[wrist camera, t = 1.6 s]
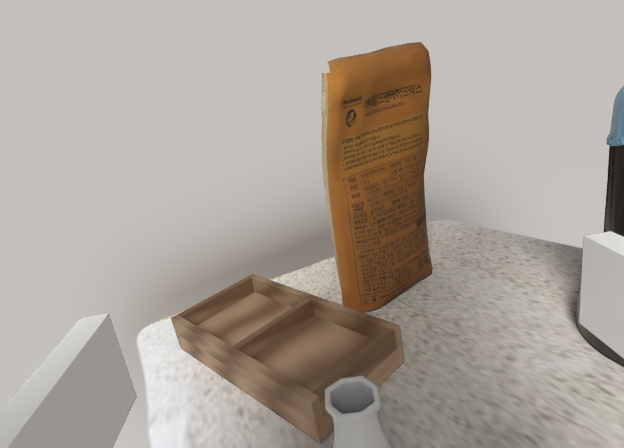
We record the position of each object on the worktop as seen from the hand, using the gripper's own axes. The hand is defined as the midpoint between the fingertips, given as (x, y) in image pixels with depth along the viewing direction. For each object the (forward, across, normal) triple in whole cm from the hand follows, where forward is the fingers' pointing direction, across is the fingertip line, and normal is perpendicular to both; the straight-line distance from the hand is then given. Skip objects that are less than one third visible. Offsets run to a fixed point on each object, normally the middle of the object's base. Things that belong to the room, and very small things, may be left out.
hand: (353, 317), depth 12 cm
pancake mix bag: (+38, +9, -20) cm, 44 cm away
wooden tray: (+28, -6, -20) cm, 35 cm away
